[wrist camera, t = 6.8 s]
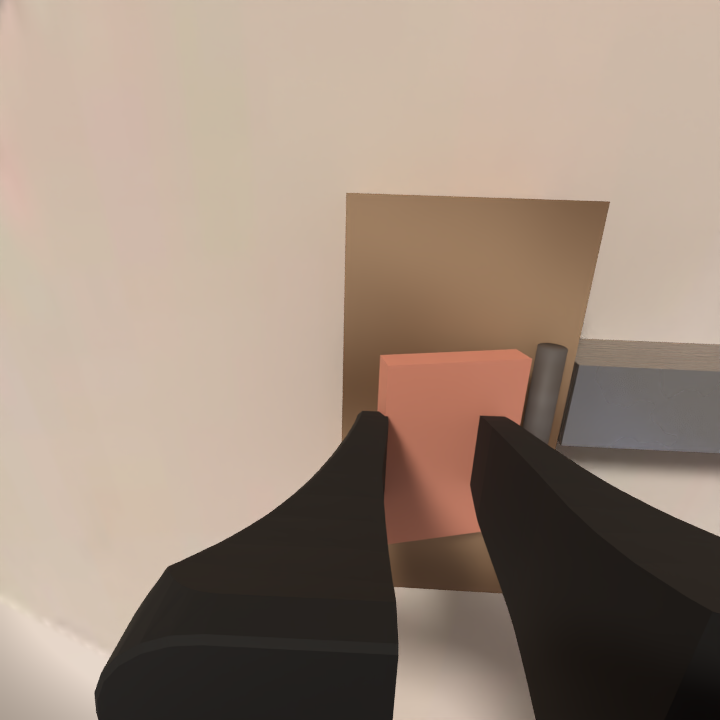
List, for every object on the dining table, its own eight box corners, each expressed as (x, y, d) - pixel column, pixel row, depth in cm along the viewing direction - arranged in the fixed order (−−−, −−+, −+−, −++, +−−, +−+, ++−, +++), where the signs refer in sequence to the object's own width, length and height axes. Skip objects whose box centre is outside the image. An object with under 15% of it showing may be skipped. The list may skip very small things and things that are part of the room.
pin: (770, 438, 17) (868, 500, 13) (528, 426, 17) (565, 484, 14) (819, 323, 15) (944, 360, 12) (550, 312, 15) (598, 345, 12)
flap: (501, 529, 12) (377, 545, 11) (489, 511, 13) (371, 526, 12) (532, 359, 10) (388, 365, 9) (516, 349, 11) (380, 355, 10)
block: (491, 504, 18) (530, 615, 13) (348, 496, 18) (336, 603, 14) (542, 200, 14) (627, 202, 9) (356, 194, 14) (343, 192, 9)
